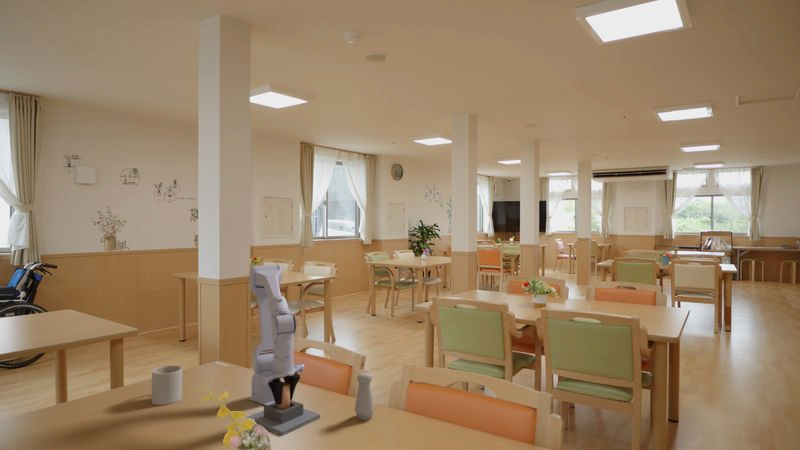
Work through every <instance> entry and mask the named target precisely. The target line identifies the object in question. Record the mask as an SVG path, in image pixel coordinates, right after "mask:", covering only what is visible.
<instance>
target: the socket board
mask: <svg viewBox="0 0 800 450" xmlns="http://www.w3.org/2000/svg"><path fill="white" fill-rule="evenodd" d="M247 418H251V419H254V420H255V422H256V423H257V424H259V425H262V426H263V427H265V428H264V429H265V430H269V431H271V432H273V433H275V432H276V434H279V435H280V434H281V435H280V436H285V435H286V434H288V433H289V434H290V433H291V432H293V431H295V430H298V429H299V428H301V427H303V426H306V425H308V424H310V423H312V422H314V421H316V420H318V419H320V418H321V413H317V412H315V411H312V410H309V409H306V408H304V404H303V403H301V402H299V401H295V400H293V399H292V400H290V408H287V409H285V410H280V409H278V404H276V403H272V404H270V405H267V406H266V405H264V406H263V410H260V411H259V412H258V411H257V412H256V413H253V414H251V415H249V416H246V419H247ZM263 427H262V428H263Z"/></svg>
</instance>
